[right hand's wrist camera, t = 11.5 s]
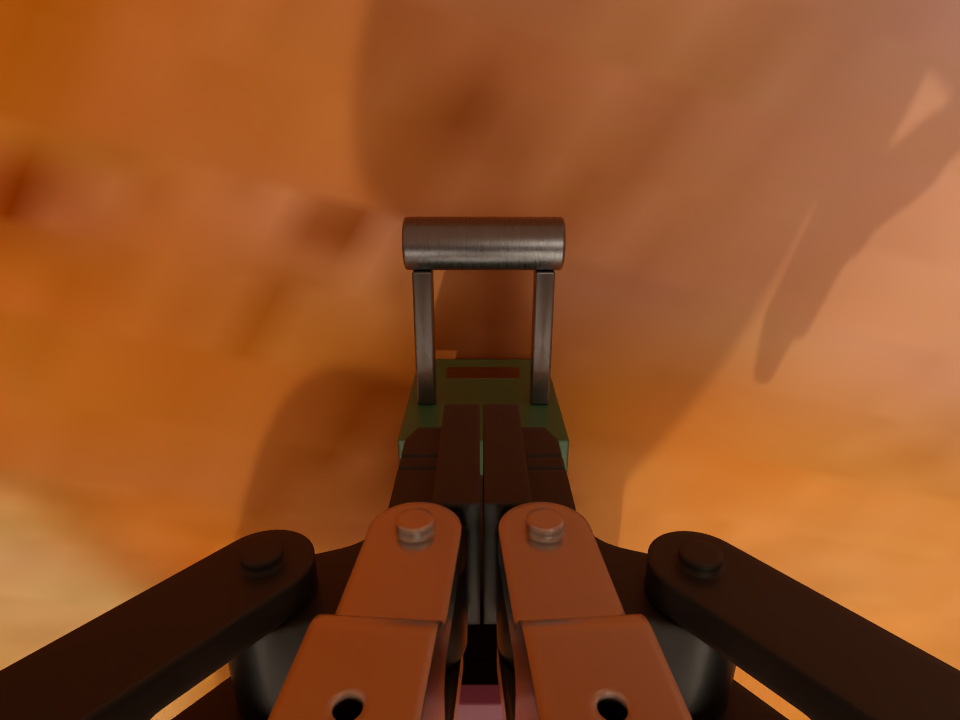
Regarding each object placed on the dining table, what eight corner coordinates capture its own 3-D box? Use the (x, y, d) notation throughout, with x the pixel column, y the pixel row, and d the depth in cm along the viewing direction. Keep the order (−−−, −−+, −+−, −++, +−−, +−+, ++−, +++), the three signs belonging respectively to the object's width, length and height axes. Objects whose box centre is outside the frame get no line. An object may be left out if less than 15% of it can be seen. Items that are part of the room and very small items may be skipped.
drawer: (413, 202, 21) (386, 230, 15) (552, 202, 21) (582, 231, 15) (430, 652, 29) (416, 793, 23) (533, 652, 29) (547, 793, 23)
